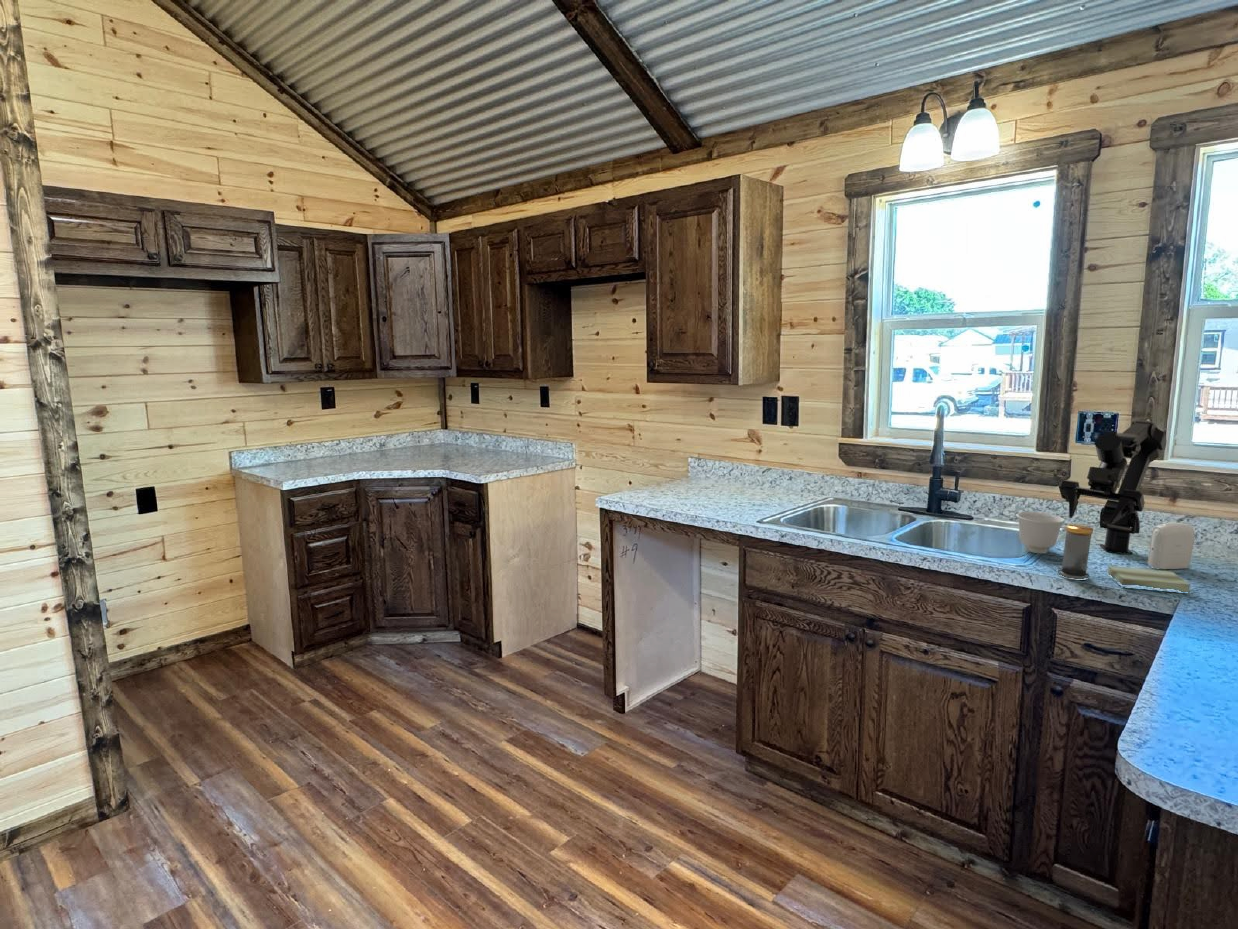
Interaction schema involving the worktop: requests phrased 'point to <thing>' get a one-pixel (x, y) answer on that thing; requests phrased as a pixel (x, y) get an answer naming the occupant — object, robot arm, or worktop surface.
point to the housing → (1076, 551)
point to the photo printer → (1171, 546)
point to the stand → (1148, 578)
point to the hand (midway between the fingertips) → (1089, 520)
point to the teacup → (1038, 530)
